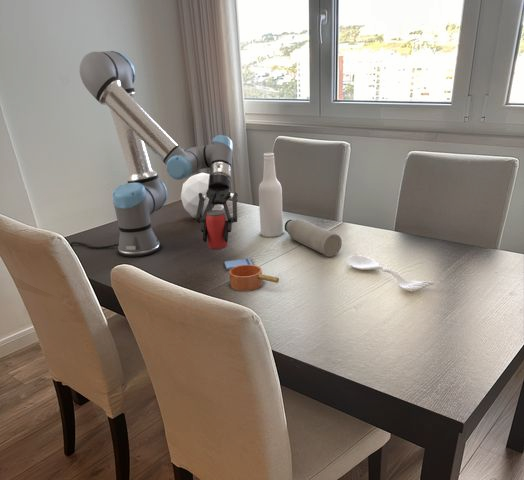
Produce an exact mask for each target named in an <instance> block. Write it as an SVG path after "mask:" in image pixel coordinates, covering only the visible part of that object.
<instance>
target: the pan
mask: <svg viewBox="0 0 524 480" xmlns="http://www.w3.org/2000/svg"><path fill="white" fill-rule="evenodd" d="M228 271H229V272H228V275H229V285H230V287H231V288H232V290H236V291H240V292H241V291H242V292H247V291H254V290H257V289H259V288H261V287H263V280H261V279H258V274H263V268H261V266H258V265H255V264H252V265H240V266H236V267H233V268H232V269H231V270H228Z"/></svg>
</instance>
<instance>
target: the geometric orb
mask: <svg viewBox="0 0 524 480" xmlns="http://www.w3.org/2000/svg"><path fill="white" fill-rule="evenodd" d="M208 185H209V173H205V172H200V173H196V174H194V175H190V176H189V178H187V179H186V180H185V181H184V182H183V183H182V188H181V194H180V200H181V204H182V206H183V209H184V210H185V211H186V212H187V213H188V214H189V215H190V217H192V218H193V219H194V218H195V219H196V215H197V209H198V204H199V193H202V194H205V193H206V192H207V191H208ZM208 201H209V198H208V197H206V200H205V201H204V208H203V213H204V211H205V209H206V207H207V205H208ZM212 210H221V211H223V210H224V206H223V205H220V204H218V205H214V207H213V208H212ZM203 213H202V216H203Z"/></svg>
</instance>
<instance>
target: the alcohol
mask: <svg viewBox="0 0 524 480" xmlns="http://www.w3.org/2000/svg"><path fill="white" fill-rule="evenodd" d="M282 187H283V186H282V184H281V182H280V181H279V179H277V172H276V163H275V153H274V152H265V153H263V177H262V181H261V182H260V183H259V185H258V206H259V224H260V225H259V226H260V234H261V235H262V236H263V237H265V238H266V237H267V238H275V237H279V236H281V235H282V234H283V232H284V220H283V218H284V216H283V215H284V214H283V188H282Z"/></svg>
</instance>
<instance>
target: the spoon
mask: <svg viewBox="0 0 524 480" xmlns="http://www.w3.org/2000/svg"><path fill="white" fill-rule="evenodd" d="M346 262H347V264H348V265H349V266H350V267H352V268H354V269H357V270H362V271H371V270H381V272H383V273H389V274H391V275H392V276H393V277H394V278H395V279H396V280H397V282H398V287H399V288H400V289H403V290H405V291H407V292H411V293H412V292H414V291H419V290H421V289H423V288H427V287H429V286H434V285H435V282H434V280H433V281H432V280H427V281H420V280H409V279H405V278H404V277H402V276H401V275H400V274H399V273H397V271H395V270H393V269H392V268H391V267H389V266H383V265H380V263H379V262H377V261H376V260H375V259H373V258H371V257H368V256H366V255H361V254H353V255H350V256H348V257H347V258H346Z"/></svg>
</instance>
